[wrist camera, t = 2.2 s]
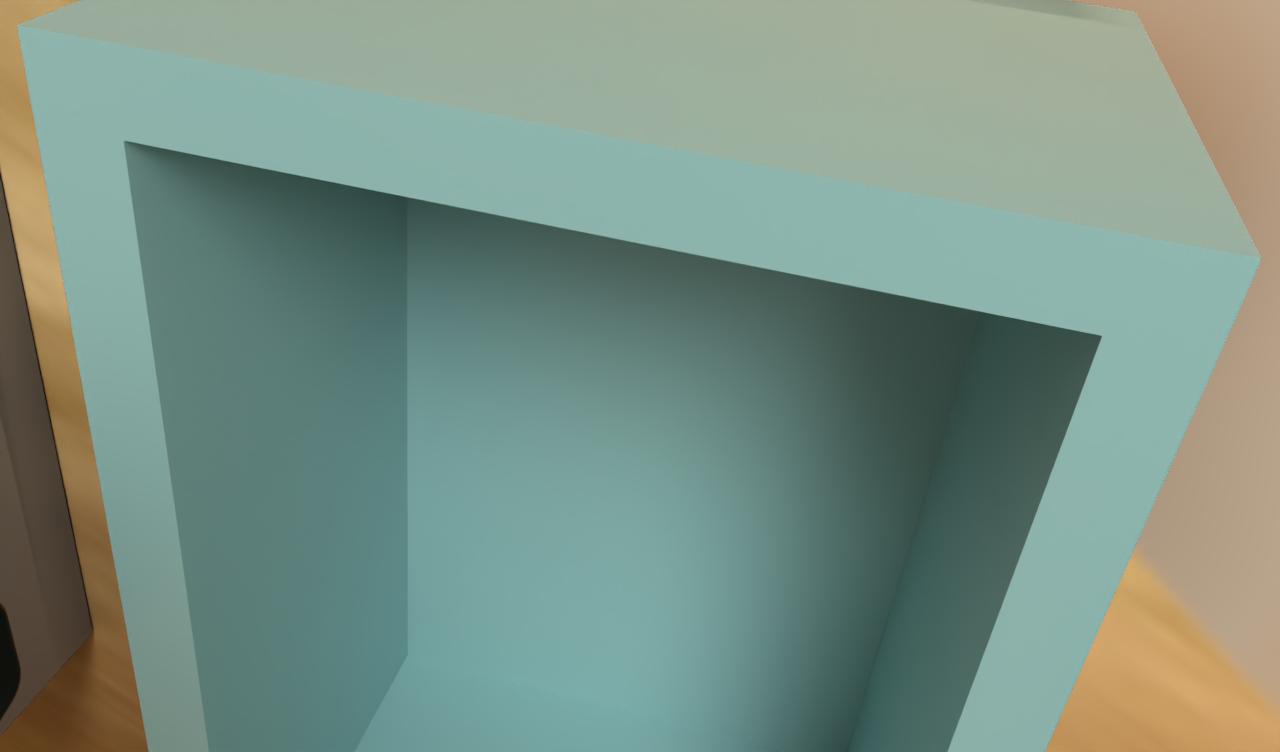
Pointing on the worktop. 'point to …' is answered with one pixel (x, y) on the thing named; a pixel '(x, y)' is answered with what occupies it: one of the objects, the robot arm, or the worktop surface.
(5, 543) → the charcoal crate
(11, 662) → the robot arm
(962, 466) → the teal crate
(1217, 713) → the worktop surface
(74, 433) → the worktop surface
